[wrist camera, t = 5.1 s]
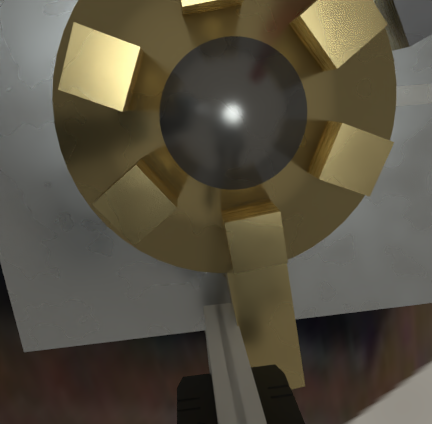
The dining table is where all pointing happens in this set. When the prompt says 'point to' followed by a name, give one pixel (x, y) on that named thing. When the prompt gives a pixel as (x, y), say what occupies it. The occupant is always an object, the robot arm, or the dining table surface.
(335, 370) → the dining table surface
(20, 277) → the flange plate
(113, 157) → the gold knob with handle
